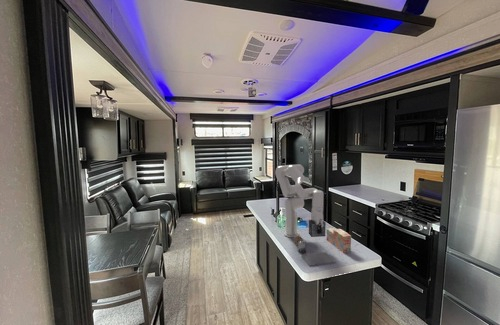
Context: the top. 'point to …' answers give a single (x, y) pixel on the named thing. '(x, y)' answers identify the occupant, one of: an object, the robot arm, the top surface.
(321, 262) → the slate board
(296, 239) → the walnut block
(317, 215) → the robot arm
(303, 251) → the metallic grey egg
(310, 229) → the small box
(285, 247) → the top surface
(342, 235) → the stack of blocks
